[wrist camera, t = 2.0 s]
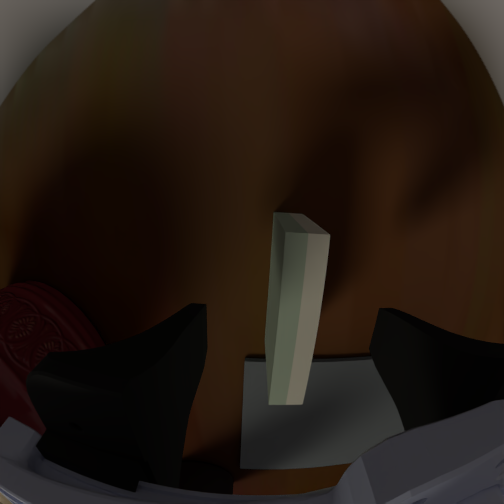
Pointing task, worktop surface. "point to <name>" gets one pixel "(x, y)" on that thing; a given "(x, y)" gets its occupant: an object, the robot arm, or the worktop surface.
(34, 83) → the worktop surface
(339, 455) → the mat
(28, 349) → the canister
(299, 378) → the tile
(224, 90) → the worktop surface
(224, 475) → the bottle
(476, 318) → the worktop surface
